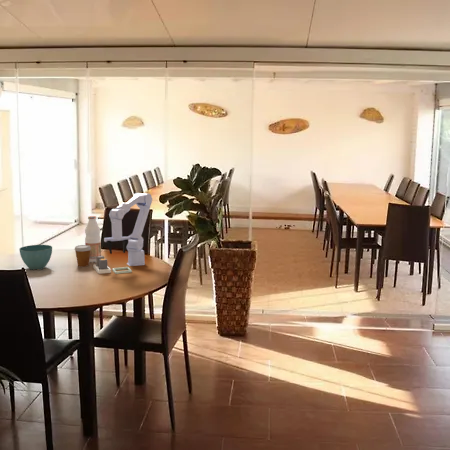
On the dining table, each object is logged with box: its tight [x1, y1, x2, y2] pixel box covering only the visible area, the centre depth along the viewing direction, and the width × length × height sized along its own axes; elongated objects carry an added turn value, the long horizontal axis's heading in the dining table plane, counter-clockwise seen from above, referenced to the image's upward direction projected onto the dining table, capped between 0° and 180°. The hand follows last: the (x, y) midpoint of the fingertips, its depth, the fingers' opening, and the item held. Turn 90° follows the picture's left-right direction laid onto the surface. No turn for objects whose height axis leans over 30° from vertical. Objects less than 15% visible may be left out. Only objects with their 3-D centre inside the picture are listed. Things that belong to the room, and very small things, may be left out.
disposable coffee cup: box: [74, 244, 91, 268], centre depth 336 cm, size 10×10×12 cm
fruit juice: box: [84, 215, 102, 263], centre depth 348 cm, size 9×9×28 cm
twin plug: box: [95, 255, 106, 267], centre depth 328 cm, size 4×4×7 cm
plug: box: [99, 258, 109, 270], centre depth 321 cm, size 4×4×7 cm
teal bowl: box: [19, 244, 53, 270], centre depth 330 cm, size 18×18×12 cm
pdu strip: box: [92, 263, 112, 275], centre depth 325 cm, size 7×16×2 cm, turn 23°
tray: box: [111, 266, 133, 275], centre depth 323 cm, size 9×9×2 cm
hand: (117, 253), depth 326 cm, fingers open, 7 cm apart
